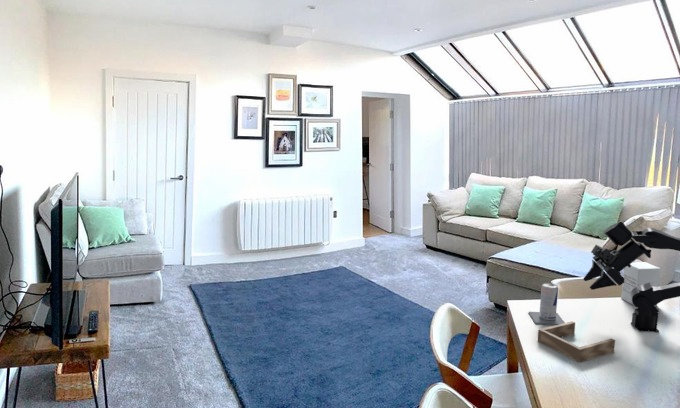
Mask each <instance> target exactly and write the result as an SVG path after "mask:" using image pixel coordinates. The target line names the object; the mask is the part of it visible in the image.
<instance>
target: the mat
mask: <svg viewBox="0 0 680 408" xmlns="http://www.w3.org/2000/svg"><path fill="white" fill-rule="evenodd" d="M528 314H529V316H530V315H531V316H530V318H531V317H532V318H531V319H532V321H533V320H534V321H533V322H535V323H534V324H535V325H541V324H543V325H544V326H545V325H546V326H555V325H559V324H563V323H566V322H565V321H564V320H563V318H562V317H561V316H560V314H559V313H558V312H556V319H555V320H544V319H542V318H541V317H540V316H539V315H540V311H528Z"/></svg>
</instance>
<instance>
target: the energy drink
mask: <svg viewBox="0 0 680 408" xmlns="http://www.w3.org/2000/svg"><path fill="white" fill-rule="evenodd" d="M558 287H559V286H558V285H557V284H554V283H550V282H545V283H542V284H541V288H540V289H541V290H540V301H539V302H540V303H539V312H540V315H539V316H540V317H541V318H542V319H544V320H555V319H556V313H557V307H558V306H557V305H558V295H559V294H558V292H559V288H558Z"/></svg>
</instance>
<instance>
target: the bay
mask: <svg viewBox="0 0 680 408" xmlns="http://www.w3.org/2000/svg"><path fill="white" fill-rule="evenodd" d="M537 331H538V333H537V342H538V343H541V344H543V345H544V346H546V347H548V348H550V349H552V350H553V351H556V352H558V353H560V354H562V355H564V356H565V357H568V358H569V359H571V360H574V362H577V363H581V362H586V361H589V360H592V359H596V358H599V357H603V356H607V355H610V354H612V353H615V346H616V339H614V338H609V339H608V338H607V339H604V340H601V341H597V342H594V343H589V344H586V345H582V346H578V345H577V344H573V343H571V342H570V341H567V340H565V339H563V338H564V337H567V336H568V337H570V336H572V335H573V336H574V335H575V331H576V322H575V321H568V322H565V323H563V324H559V325H549V326H546V327H543V328H538V330H537Z"/></svg>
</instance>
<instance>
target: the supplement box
mask: <svg viewBox="0 0 680 408" xmlns="http://www.w3.org/2000/svg"><path fill="white" fill-rule="evenodd" d="M630 265H631V267H628V266H627V267H625V268H624V269H623V274H622V277H623V278H624V283H623V284H621V285H622V286H621V294H620V295H621V297H620V298H621V299H622V300H623V301H625V302H627V303H629V304H631V305H632V306H634V307H636V306H635V305H634V304H633V303H632V299H631V295H630V294H631V291H632V289H633V288H635V287H637V285H644V284H646V283H651V285H652V286H655V287H660V283H661V282H660V280H661V273H662V272H661V271H662V270H661V267H658V266H656V265H653V264H650V263H649V262H646V261H643V262H642V261H639V262H638V261H637V262H636V261H634V262H632V263H631V264H630ZM656 305H657V306H658V304H656Z"/></svg>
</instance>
